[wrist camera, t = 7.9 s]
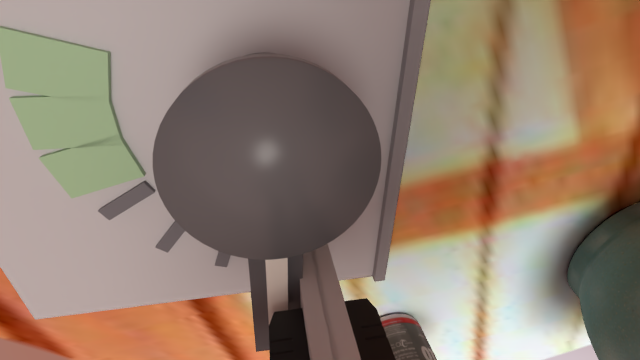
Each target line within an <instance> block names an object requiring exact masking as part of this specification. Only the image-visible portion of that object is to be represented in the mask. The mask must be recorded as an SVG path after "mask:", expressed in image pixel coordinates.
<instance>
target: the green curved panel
mask: <svg viewBox="0 0 640 360" xmlns="http://www.w3.org/2000/svg"><path fill="white" fill-rule="evenodd" d="M0 57H1V63H2V69H3V75H4V81H5V87H6V88H8V89H13V90H18V91H23V92H29V93H34V94H39V95H38V96H13V97H10V98H9V100H10V102H11V104H12V106H13V108H14V110H15V112H16V115H17V117H18V119H19V121H20V123H21V125H22V127H23V129H24V132H25V134H26V136H27V138H28V140H29V142H30V144H31V146H32V148H33V150H43V149H62V148H65V149H62V150H58V151H55V152H52V153H48V154H45V155H42V156H41V157H39V159H40V161H41V162H42V163H43V164H44V165H45V167H46V168H47V169H48V170H49V172H50V173H51V174H52V175H53V176H54V178H55V179H56V180H57V181H58V183H59V184H60V185H61V186H62V187H63V189H64V190H65V191H66V192H67V194H68V195H69V196H70V197H71V198H75V197H79V196H82V195H85V194H88V193H92V192H95V191H98V190H101V189H105V188H108V187H111V186H115V185H118V184H121V183H124V182H128V181H131V180H134V179H137V178H141V177H144V176H145V174H146V173H145V171H144V170H143V168H142V167H141V165H140V163H139V162H138V160H137V159H136V157H135V155H134V154H133V152H132V151H131V149H130V148H129V146H128V144H127V143H126V141H125V140H124V138H123V136H122V133H121V129H120V126H119V123H118V120H117V117H116V113H115V110H114V107H113V104H112V100H111V52H110V51H105V50H101V49H97V48H93V47H88V46H84V45H80V44H76V43H71V42H67V41H63V40H59V39H54V38H50V37H46V36H42V35H37V34H33V33H29V32H25V31H20V30H16V29H12V28H8V27H3V26H0ZM155 191H156V190H155V189H154V188H153V187H152V186H151V185H150V184H149V183H148V182H147V181H143V182H141V183H140V184H138V185H136V186H135V187H133V188H132V189H130V190H128V191H127V192H125V193H124V194H122V195H120V196H119V197H117V198H116V199H114V200H112V201H111V202H109V203H108V204H106V205H104V206H103V207H101V208H100V209H99V210H98V212H99V213H101V214H102V215H103V216H104V217H106V218H107V219H108V220H111V219H113V218H114V217H116V216H118V215H119V214H121V213H122V212H124V211H126V210H127V209H129V208H131V207H132V206H134V205H135V204H137V203H139V202H140V201H142V200H144V199H145V198H147V197H148V196H150V195H152V194H153V193H155ZM184 232H185V230H184V229H183V228H181V226H180V225H179V224H178V223H177V222H176V221H174V223H173V224H172V225H171V226H170V228H169V229H168V230H167V232H166V233H165V234H164V236H163V237H162V238H161V240H160V241H159V242H158V243H157V245H156V247H155V248H157V249H160V250H162V251H165V252H167V253H168V252H169V251H170V249H171V248H172V247H173V246H174V244H175V243H176V242H177V241H178V239H179V238H180V237H181V236H182V234H183V233H184ZM230 256H231V255H229V254H225V253H223V252H220V251H218V255H217V258H216V262H215V266H221V267H227V266H228V263H229V259H230Z"/></svg>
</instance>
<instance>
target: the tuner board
mask: <svg viewBox="0 0 640 360" xmlns="http://www.w3.org/2000/svg"><path fill="white" fill-rule="evenodd" d="M430 1H431V0H0V26H3V27H8V28H12V29H16V30H20V31H25V32H29V33H33V34H37V35H42V36H46V37H50V38H54V39H59V40H63V41H67V42H71V43H76V44H80V45H84V46H88V47H93V48H97V49H101V50H105V51H110V52H111V100H112V104H113V107H114V110H115V113H116V117H117V120H118V123H119V126H120V129H121V133H122V136H123V138H124V140H125V141H126V143H127V144H128V146H129V148H130V149H131V151H132V152H133V154H134V155H135V157H136V159H137V160H138V162H139V163H140V165H141V167H142V168H143V170H144V171H145V173H146V174H145V176H144V177H141V178H137V179H134V180H131V181H128V182H124V183H121V184H118V185H115V186H111V187H108V188H105V189H101V190H98V191H95V192H92V193H88V194H85V195H82V196H79V197H75V198H71V197H70V196H69V195H68V194H67V192H66V191H65V190H64V189H63V187H62V186H61V185H60V184H59V183H58V181H57V180H56V179H55V178H54V176H53V175H52V174H51V173H50V172H49V170H48V169H47V168H46V167H45V165H44V164H43V163H42V162H41V161H40V159H39V157H41V156H42V155H45V154H48V153H52V152H55V151H58V150H62V149H65V148H62V149H43V150H33V148H32V146H31V144H30V142H29V140H28V138H27V136H26V134H25V132H24V129H23V127H22V125H21V123H20V121H19V119H18V117H17V115H16V112H15V110H14V108H13V106H12V104H11V102H10V100H9V98H10V97H13V96H38V95H39V94H34V93H29V92H23V91H18V90H13V89H8V88H6V87H5V81H4V75H3V69H2V63H1V57H0V267H1V269H2V270H3V272H4V273H5V275H6V276H7V278H8V279H9V281H10V282H11V284H12V285H13V287H14V288H15V290H16V291H17V293H18V294H19V296H20V297H21V299H22V300H23V302H24V303H25V305H26V307H27V308H28V310H29V311H30V313H31V314H32V316H33V317H34V319H43V318H51V317H59V316H66V315H74V314H82V313H90V312H97V311H105V310H113V309H121V308H129V307H136V306H144V305H152V304H160V303H167V302H175V301H183V300H191V299H199V298H206V297H214V296H222V295H230V294H237V293H245V292H251V287H250V276H249V265H248V259H247V258H241V257H236V256H232V255H231V256H230V259H229V263H228V266H227V267H221V266H215V262H216V258H217V255H218V251H217V250H215V249H213V248H211V247H209V246H207V245H205V244H203V243H201V242H200V241H198V240H197V239H195V238H194V237H192V236H191V235H190V234H188V233H187V232H186V231H185V232H184V233H183V234H182V236H181V237H180V238H179V239H178V241H177V242H176V243H175V244H174V246H173V247H172V248H171V249H170V251H169V252H168V253H167V252H165V251H162V250H160V249H157V248H155V247H156V245H157V243H158V242H159V241H160V240H161V238H162V237H163V236H164V234H165V233H166V232H167V230H168V229H169V228H170V226H171V225H172V224H173V223H174V221H175V220H174V219H173V218H172V216H171V215H170V213H169V212H168V210H167V209H166V207H165V206H164V204H163V202H162V200H161V198H160V196H159V193H158V190H157V187H156V184H155V180H154V174H153V148H154V142H155V138H156V135H157V132H158V129H159V126H160V124H161V122H162V120H163V118H164V116H165V114H166V112H167V111H168V109H169V108H170V107H171V105H172V104H173V102H174V101H175V100H176V99H177V97H178V96H179V95H180V93H181V92H182V91H183V89H184V88H185V87H187V86H188V85H189V84H190V83H191V82H192V81H193V80H194V79H195V78H196V77H198V76H199V75H201V74H202V73H203V72H205V71H206V70H208V69H210V68H212V67H214V66H216V65H218V64H220V63H222V62H225V61H228V60H230V59H233V58H236V57H241V56H245V55H248V54H253V53H263V52H266V53H275V54H283V55H289V56H293V57H298V58H302V59H304V60H307V61H310V62H312V63H315V64H317V65H319V66H321V67H323V68H324V69H326V70H328V71H330V72H331V73H332V74H334V75H335V76H336V77H338V78H339V79H340V80H342V81H343V82H344V83H345V84H346V85H347V86H348V87H349V88H350V89H351V90H352V91H353V92H354V93H355V94H356V95H357V96H358V97H359V99H360V100H361V101H362V103H363V104H364V105H365V107H366V108H367V109H368V111H369V113H370V115H371V117H372V119H373V121H374V123H375V126H376V129H377V132H378V135H379V140H380V145H381V170H380V175H379V180H378V184H377V186H376V189H375V192H374V194H373V196H372V198H371V200H370V202H369V204H368V206H367V207H366V209H365V210H364V212H363V213H362V215H361V216H360V217H359V218H358V219H357V220H356V221H355V223H354V224H353V225H352V226H351V227H349V228H348V229H347V230H346V231H345V232H344V233H343V234H341V235H340V236H339V237H337V238H336V239H334V240H333V241H331V242H329V243H328V246H329V250H330V253H331V257H332V260H333V264H334V267H335V271H336V274H337V278H338V281H339V280H346V279H354V278H362V277H370V276H373V279H374V281H382V280H385V275H386V268H387V262H388V256H389V250H390V244H391V238H392V232H393V226H394V220H395V214H396V208H397V202H398V196H399V190H400V183H401V177H402V171H403V165H404V159H405V153H406V147H407V141H408V135H409V129H410V123H411V117H412V111H413V105H414V99H415V92H416V86H417V80H418V74H419V68H420V62H421V56H422V50H423V44H424V38H425V32H426V26H427V20H428V14H429V7H430ZM143 181H147V182H148V183H149V184H150V185H151V186H152V187H153V188H154V189H155V190H156V191H155V193H153V194H152V195H150V196H148V197H147V198H145V199H144V200H142V201H140V202H139V203H137V204H135V205H134V206H132V207H131V208H129V209H127V210H126V211H124V212H122V213H121V214H119V215H118V216H116V217H114V218H113V219H111V220H108V219H107V218H106V217H104V216H103V215H102V214H101V213H99V212H98V210H99V209H100V208H101V207H103V206H104V205H106V204H108V203H109V202H111V201H112V200H114V199H116V198H117V197H119V196H120V195H122V194H124V193H125V192H127V191H128V190H130V189H132V188H133V187H135V186H136V185H138V184H140V183H141V182H143Z"/></svg>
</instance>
